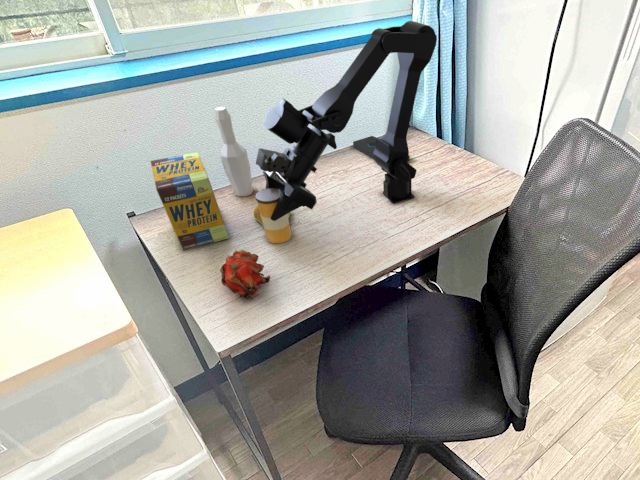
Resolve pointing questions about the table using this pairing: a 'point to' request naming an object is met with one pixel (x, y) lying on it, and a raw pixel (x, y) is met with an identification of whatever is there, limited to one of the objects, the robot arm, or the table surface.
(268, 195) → the tube
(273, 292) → the table surface
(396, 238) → the table surface
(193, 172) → the protein box
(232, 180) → the low poly bottle
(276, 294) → the table surface
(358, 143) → the smart home device
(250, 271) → the dragon fruit
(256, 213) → the bread roll
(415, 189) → the table surface
